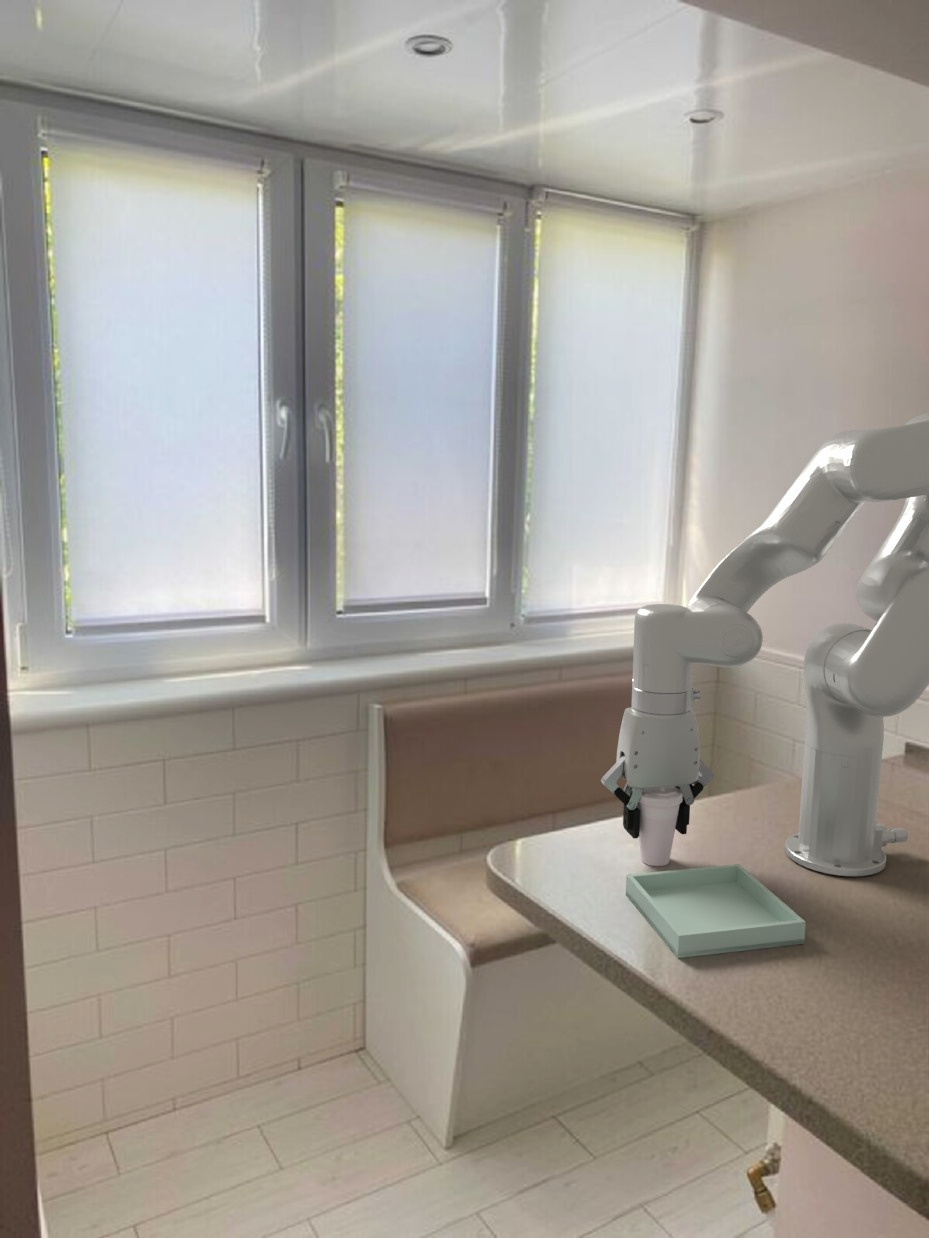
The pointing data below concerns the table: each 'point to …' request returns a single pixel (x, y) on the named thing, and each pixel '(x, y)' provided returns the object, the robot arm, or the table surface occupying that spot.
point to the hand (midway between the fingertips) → (655, 831)
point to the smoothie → (658, 823)
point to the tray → (713, 910)
